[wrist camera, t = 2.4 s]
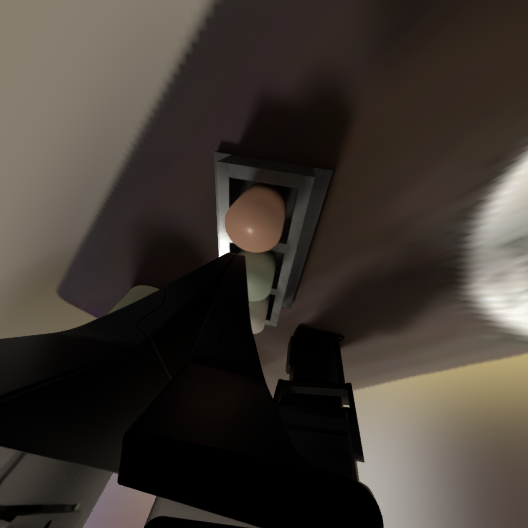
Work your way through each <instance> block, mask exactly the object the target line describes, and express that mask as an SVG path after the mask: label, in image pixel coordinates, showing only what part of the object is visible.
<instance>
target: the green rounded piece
mask: <svg viewBox="0 0 528 528" xmlns="http://www.w3.org/2000/svg"><path fill="white" fill-rule="evenodd" d="M239 254H240V255H245V257H246V270H247V283H248V297H249V301H260V300H263V299H265V298H266V297H267V296H268V295H269V294H270V291H271V287H272V283H273V278H274V273H275V269H276V264H277V258H276V255H275V253H274V252H273V251H272V250H268V251H265V252H259V253H254V252H249V251H246V250H243V249H241V250H240V252H239Z"/></svg>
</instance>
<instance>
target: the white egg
mask: <svg viewBox="0 0 528 528" xmlns="http://www.w3.org/2000/svg"><path fill="white" fill-rule="evenodd" d="M269 301H270V295H268V296H267V297H266V298H265V299H263V300H260V301H249V309H250V319H251V326H252V330H253V334H256V333H259V332H261V331H262V330H263V328H264V324H265V320H266V315H267V310H268V305H269Z"/></svg>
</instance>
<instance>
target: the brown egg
mask: <svg viewBox="0 0 528 528" xmlns="http://www.w3.org/2000/svg"><path fill="white" fill-rule="evenodd" d="M286 212H287V203H286V199H285V197H284V195H283V193H282V192H281V191H280V190H279V189H278V188H277V187H275V186H273V185H271V184H267V183H256V184H253V185H251V186H250V187H248V188H247V189H246V190H245V191H244V192H243V193H242V195H241V196H240V197H239V198H238V199H237V200H236V201H235V202H234V203H233V205H232V206H231V207H230V208H229V209H228V211H227V213H226V216H225V229H226V232H227V234H228V236H229V238H230V239H231V240H232V242H233V243H234V244H235V245H237V246H238V247H240V248H241V249H243V250H246V251H249V252H254V253H259V252H265V251H268V250H270V249H271V248H273V247H274V246H275V245H276V244H277V243H278V241H279V239H280V237H281V234H282V229H283V225H284V221H285V216H286Z"/></svg>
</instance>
